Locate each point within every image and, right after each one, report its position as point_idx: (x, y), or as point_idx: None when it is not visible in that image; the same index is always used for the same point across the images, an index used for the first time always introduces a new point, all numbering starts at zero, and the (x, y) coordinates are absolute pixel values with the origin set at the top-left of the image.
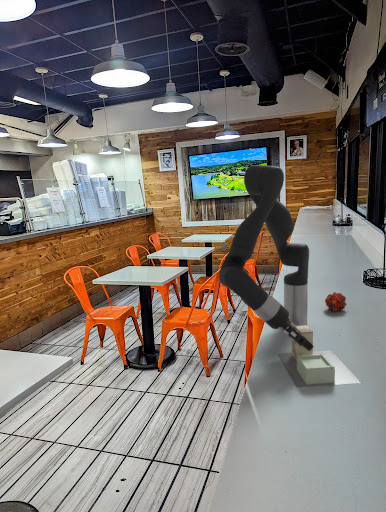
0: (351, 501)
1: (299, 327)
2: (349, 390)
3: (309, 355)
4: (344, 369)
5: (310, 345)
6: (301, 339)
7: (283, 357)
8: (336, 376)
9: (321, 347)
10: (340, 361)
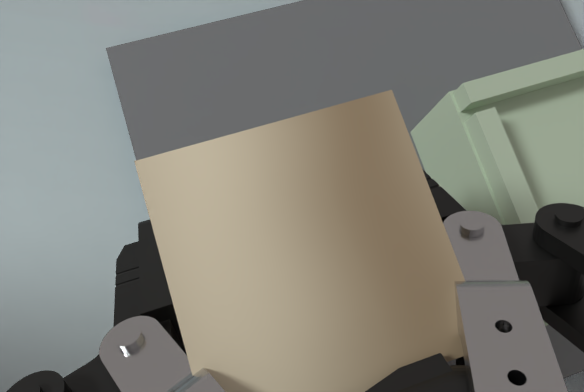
0: None
1: (260, 300)
2: (580, 23)
3: (535, 205)
4: (395, 2)
5: (429, 178)
6: (565, 275)
7: None
8: (497, 62)
9: (15, 113)
10: (286, 8)
